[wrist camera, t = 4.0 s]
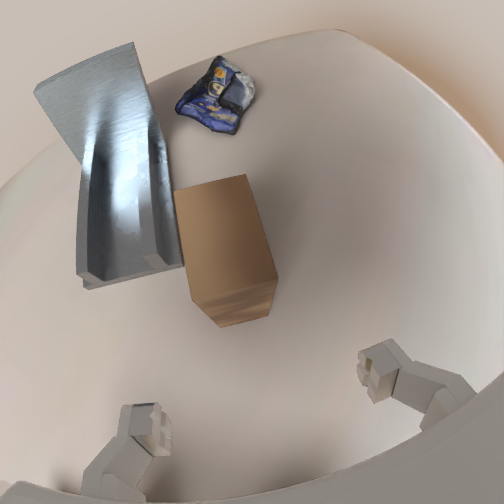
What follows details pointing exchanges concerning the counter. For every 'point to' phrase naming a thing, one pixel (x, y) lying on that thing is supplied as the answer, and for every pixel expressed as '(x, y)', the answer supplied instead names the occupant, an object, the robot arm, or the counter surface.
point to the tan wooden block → (225, 251)
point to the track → (115, 168)
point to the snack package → (218, 97)
